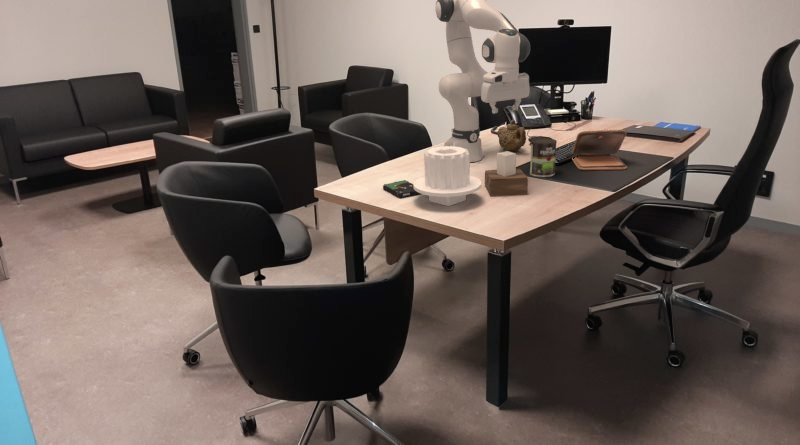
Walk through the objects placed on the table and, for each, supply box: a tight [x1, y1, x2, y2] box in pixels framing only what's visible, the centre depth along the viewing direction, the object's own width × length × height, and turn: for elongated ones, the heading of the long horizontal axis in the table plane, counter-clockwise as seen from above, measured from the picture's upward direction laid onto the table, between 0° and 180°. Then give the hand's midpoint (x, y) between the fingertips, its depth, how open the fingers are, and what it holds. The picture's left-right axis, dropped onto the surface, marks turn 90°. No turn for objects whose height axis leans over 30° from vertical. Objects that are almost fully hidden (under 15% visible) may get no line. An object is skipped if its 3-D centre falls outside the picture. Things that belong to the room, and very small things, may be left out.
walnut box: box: [484, 168, 529, 198], centre depth 241 cm, size 13×14×7 cm
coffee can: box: [529, 137, 557, 178], centre depth 259 cm, size 10×10×14 cm
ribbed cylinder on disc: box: [412, 145, 482, 207], centre depth 230 cm, size 25×25×19 cm
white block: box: [496, 150, 517, 177], centre depth 238 cm, size 5×5×8 cm
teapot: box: [496, 119, 527, 153], centre depth 296 cm, size 21×12×15 cm, turn 25°
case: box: [571, 129, 628, 171], centre depth 269 cm, size 20×21×16 cm
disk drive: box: [382, 179, 423, 200], centre depth 246 cm, size 10×3×15 cm
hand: (505, 111), depth 239 cm, fingers open, 8 cm apart
